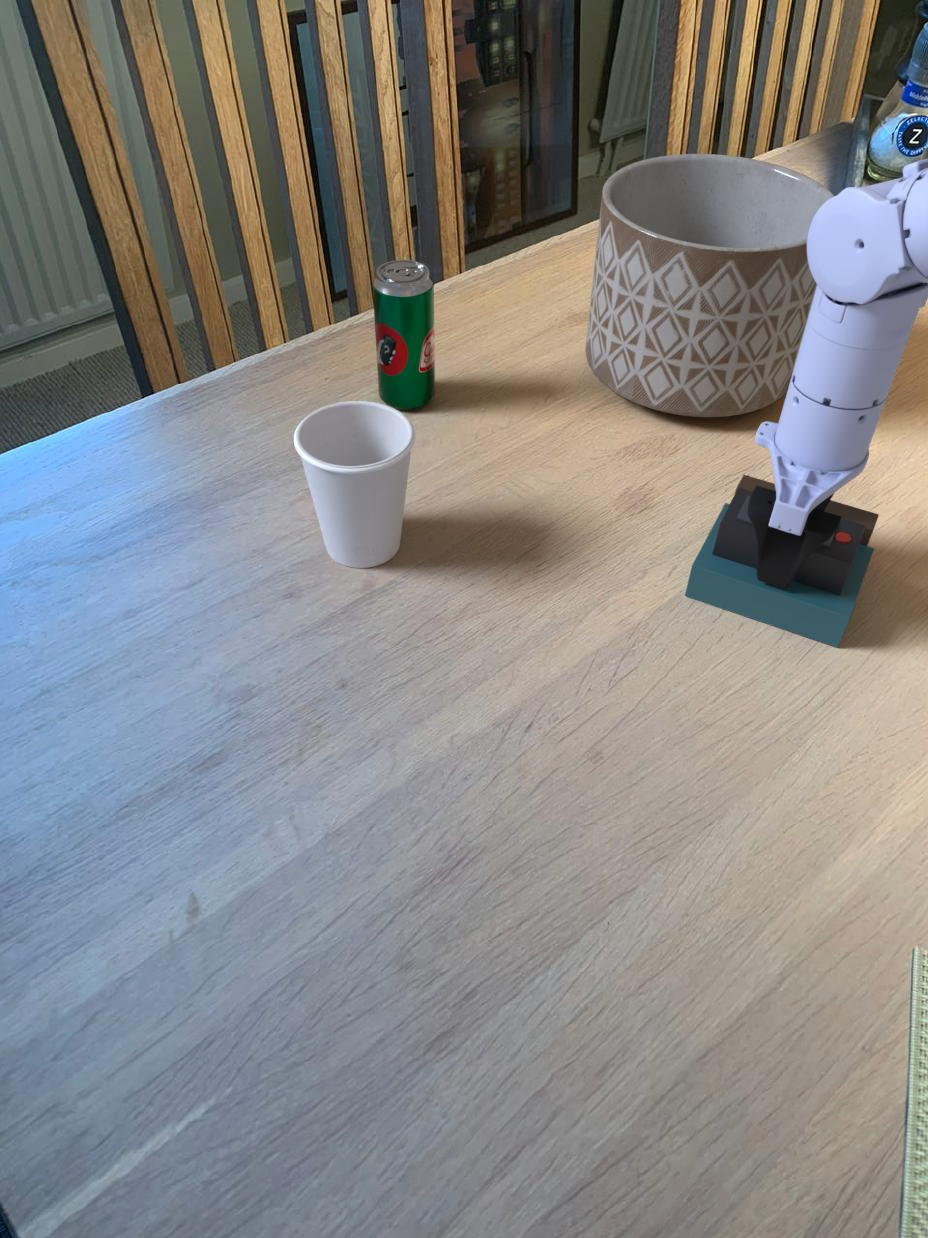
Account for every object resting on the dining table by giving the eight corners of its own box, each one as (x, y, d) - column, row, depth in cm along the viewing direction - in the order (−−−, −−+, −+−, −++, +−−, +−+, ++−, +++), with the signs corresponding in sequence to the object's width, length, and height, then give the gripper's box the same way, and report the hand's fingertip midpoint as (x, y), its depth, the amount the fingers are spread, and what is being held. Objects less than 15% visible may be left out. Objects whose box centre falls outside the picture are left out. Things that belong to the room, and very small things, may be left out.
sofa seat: (837, 648, 68) (857, 601, 65) (684, 596, 72) (695, 549, 68) (867, 562, 74) (886, 516, 71) (725, 518, 78) (737, 472, 75)
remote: (853, 557, 70) (866, 523, 68) (839, 596, 67) (853, 561, 65) (730, 519, 73) (739, 484, 71) (711, 554, 70) (720, 520, 68)
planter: (694, 460, 83) (734, 273, 72) (541, 364, 94) (554, 188, 82) (834, 384, 92) (891, 206, 80) (680, 304, 103) (709, 137, 91)
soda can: (434, 414, 88) (432, 286, 79) (377, 413, 88) (369, 284, 79) (436, 383, 91) (434, 257, 83) (381, 382, 91) (374, 256, 83)
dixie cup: (300, 517, 77) (286, 407, 70) (405, 501, 79) (401, 392, 72) (316, 588, 72) (302, 477, 65) (429, 570, 73) (427, 459, 66)
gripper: (803, 317, 66) (757, 480, 76) (741, 426, 57) (698, 596, 67) (911, 343, 64) (851, 508, 74) (866, 460, 55) (803, 632, 64)
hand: (785, 552), depth 70 cm, fingers open, 6 cm apart
